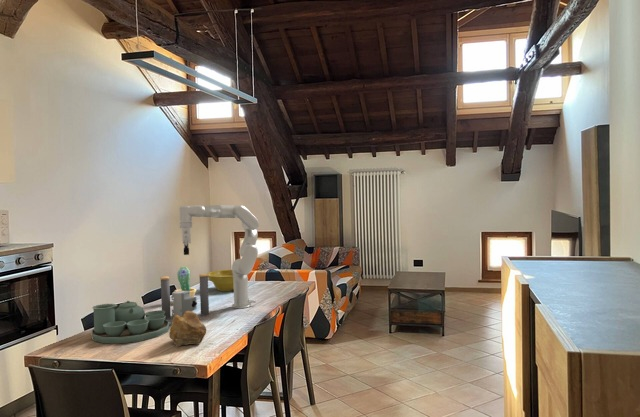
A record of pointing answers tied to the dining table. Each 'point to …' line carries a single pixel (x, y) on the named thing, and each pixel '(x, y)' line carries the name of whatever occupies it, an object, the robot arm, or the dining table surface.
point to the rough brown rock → (187, 329)
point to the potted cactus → (185, 280)
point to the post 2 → (204, 294)
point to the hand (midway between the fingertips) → (186, 254)
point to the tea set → (127, 323)
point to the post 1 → (165, 296)
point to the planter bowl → (222, 279)
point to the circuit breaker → (183, 303)
